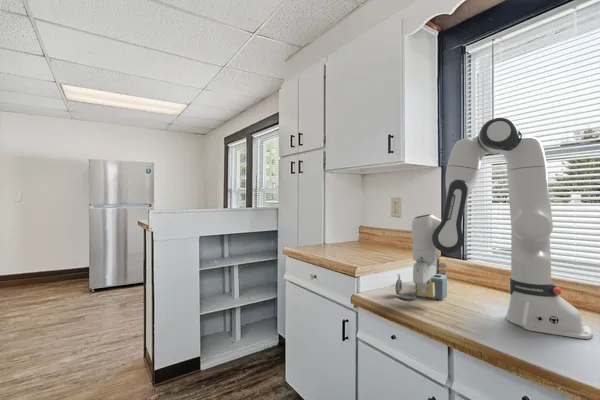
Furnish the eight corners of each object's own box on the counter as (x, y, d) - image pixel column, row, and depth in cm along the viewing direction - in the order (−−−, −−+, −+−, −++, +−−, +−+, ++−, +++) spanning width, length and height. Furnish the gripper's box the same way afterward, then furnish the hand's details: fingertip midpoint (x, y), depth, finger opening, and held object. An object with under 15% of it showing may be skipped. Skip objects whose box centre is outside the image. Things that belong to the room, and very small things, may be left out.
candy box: (446, 291, 142) (446, 258, 142) (438, 292, 141) (438, 258, 141) (434, 286, 151) (434, 254, 151) (426, 286, 150) (426, 255, 150)
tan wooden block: (435, 295, 121) (434, 282, 121) (433, 297, 119) (432, 284, 119) (419, 293, 125) (418, 280, 125) (417, 295, 122) (416, 282, 122)
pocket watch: (417, 300, 129) (417, 276, 129) (397, 300, 129) (397, 276, 129) (411, 294, 137) (411, 272, 137) (392, 294, 137) (392, 272, 137)
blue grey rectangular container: (446, 296, 135) (446, 275, 135) (442, 300, 129) (442, 279, 129) (420, 291, 142) (420, 271, 142) (415, 295, 135) (415, 275, 135)
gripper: (425, 260, 112) (427, 298, 111) (439, 252, 128) (440, 286, 128) (407, 259, 116) (409, 296, 115) (423, 251, 132) (424, 284, 132)
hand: (425, 290), depth 122 cm, fingers closed on tan wooden block, 3 cm apart
